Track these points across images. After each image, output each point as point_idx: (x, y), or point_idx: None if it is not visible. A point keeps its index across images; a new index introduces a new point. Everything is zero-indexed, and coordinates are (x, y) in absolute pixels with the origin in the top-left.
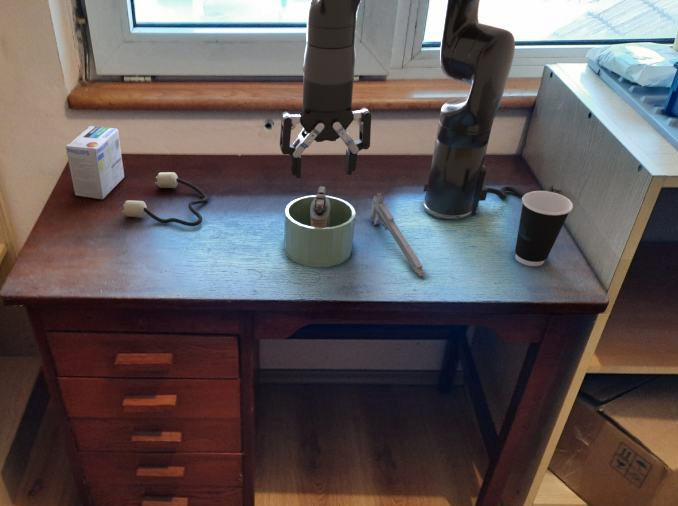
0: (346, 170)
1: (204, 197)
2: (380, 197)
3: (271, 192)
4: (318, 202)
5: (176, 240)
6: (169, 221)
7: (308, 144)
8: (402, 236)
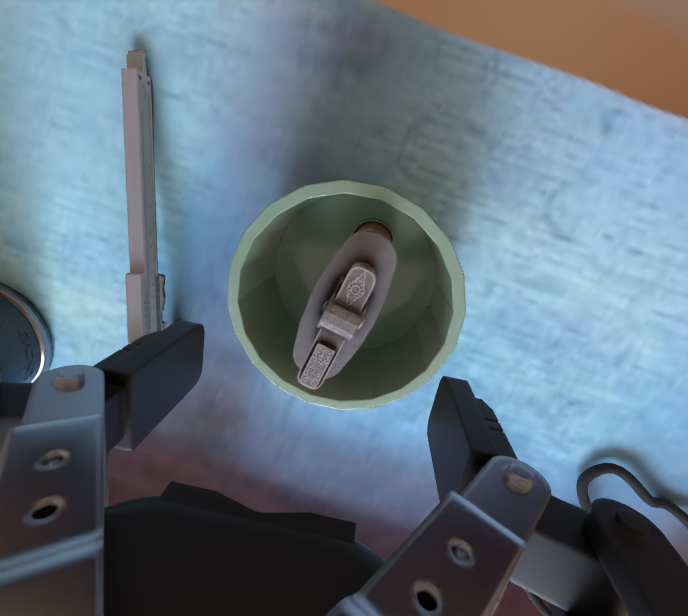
0: (195, 354)
1: None
2: None
3: (363, 526)
4: (366, 283)
5: (676, 425)
6: (658, 498)
7: (454, 511)
8: (130, 202)
